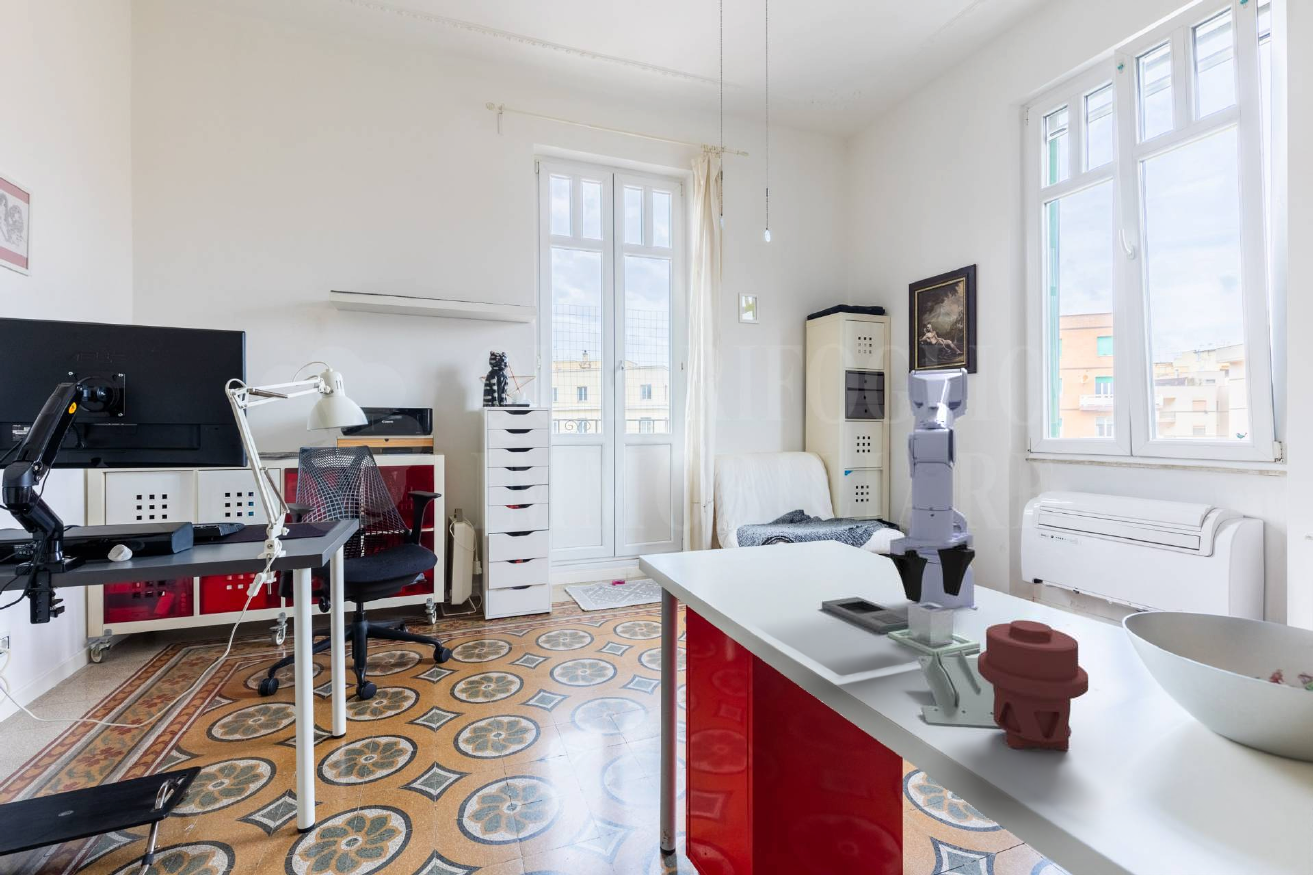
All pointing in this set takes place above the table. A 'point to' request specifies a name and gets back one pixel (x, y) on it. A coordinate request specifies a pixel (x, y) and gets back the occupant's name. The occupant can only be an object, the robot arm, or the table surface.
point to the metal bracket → (958, 692)
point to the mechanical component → (1032, 682)
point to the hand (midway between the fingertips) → (932, 597)
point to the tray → (967, 645)
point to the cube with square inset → (930, 624)
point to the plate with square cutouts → (867, 614)
